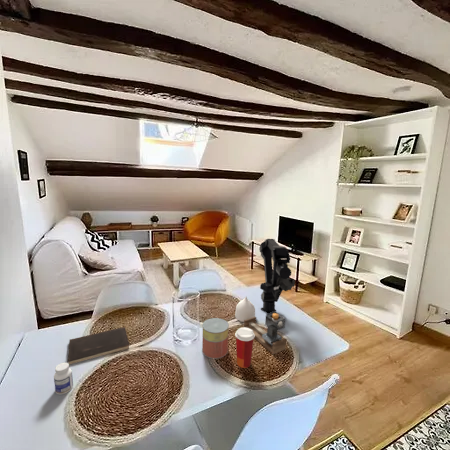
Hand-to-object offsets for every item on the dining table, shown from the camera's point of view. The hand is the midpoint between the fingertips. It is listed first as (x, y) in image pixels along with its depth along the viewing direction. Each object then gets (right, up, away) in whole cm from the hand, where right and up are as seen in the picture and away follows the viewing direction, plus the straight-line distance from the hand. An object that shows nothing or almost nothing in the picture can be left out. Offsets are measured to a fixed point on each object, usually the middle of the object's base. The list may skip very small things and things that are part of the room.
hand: (276, 300), depth 131 cm
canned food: (-31, -16, -20) cm, 40 cm away
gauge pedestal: (-1, -13, 0) cm, 13 cm away
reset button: (-1, -11, -1) cm, 11 cm away
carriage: (-5, -14, -16) cm, 22 cm away
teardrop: (-16, -12, +8) cm, 21 cm away
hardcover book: (-82, -15, -19) cm, 86 cm away
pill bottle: (-83, -19, -43) cm, 95 cm away
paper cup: (-19, -18, -28) cm, 38 cm away
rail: (-9, -15, -11) cm, 20 cm away
